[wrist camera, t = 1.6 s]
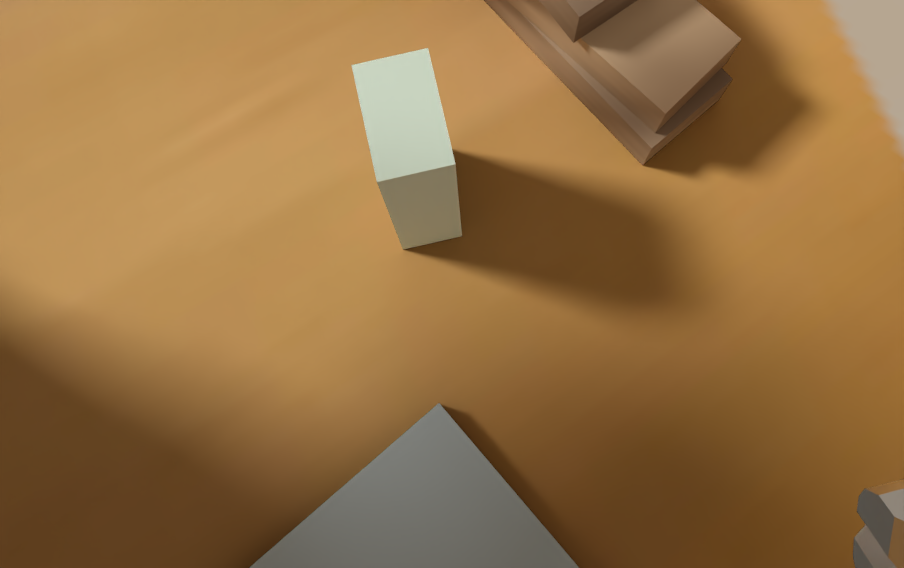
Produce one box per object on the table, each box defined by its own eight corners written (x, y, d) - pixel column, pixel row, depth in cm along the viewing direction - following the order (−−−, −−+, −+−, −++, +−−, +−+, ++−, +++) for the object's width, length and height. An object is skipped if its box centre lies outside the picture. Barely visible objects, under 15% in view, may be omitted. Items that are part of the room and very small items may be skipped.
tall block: (403, 249, 36) (376, 181, 27) (383, 159, 36) (351, 65, 28) (462, 236, 36) (455, 163, 27) (441, 146, 36) (428, 47, 28)
